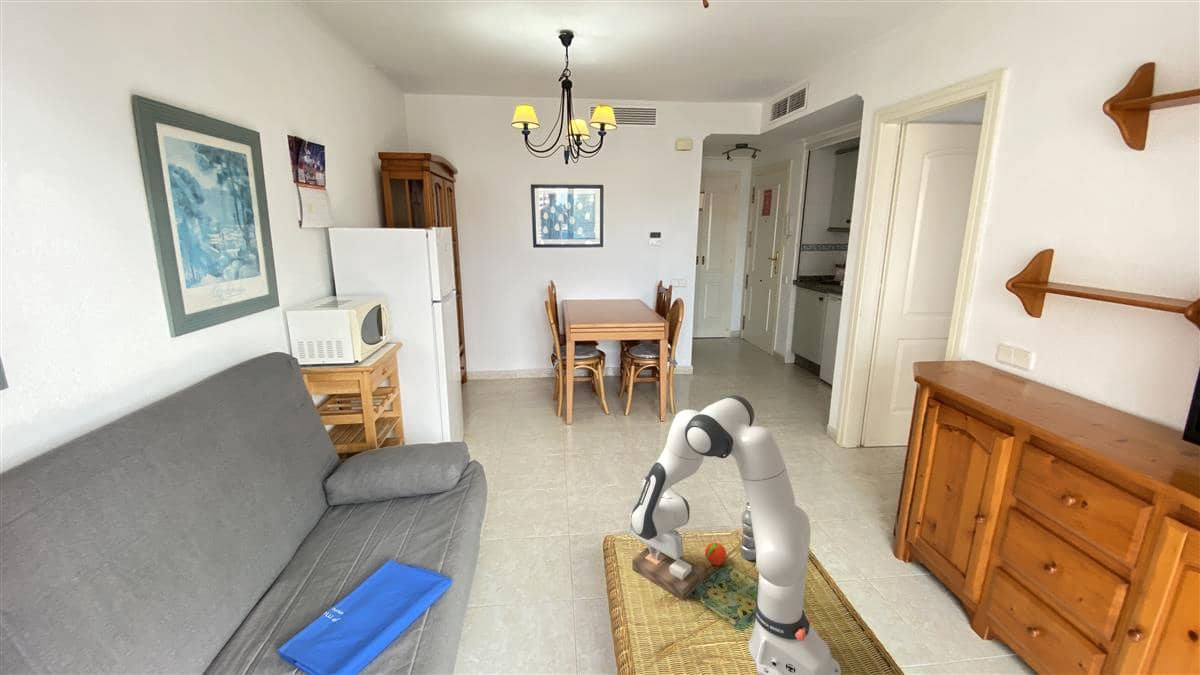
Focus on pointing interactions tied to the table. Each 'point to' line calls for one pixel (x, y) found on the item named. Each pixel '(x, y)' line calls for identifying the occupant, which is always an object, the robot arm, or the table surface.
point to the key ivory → (680, 569)
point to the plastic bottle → (747, 536)
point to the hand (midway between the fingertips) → (655, 557)
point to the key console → (668, 574)
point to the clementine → (715, 553)
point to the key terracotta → (655, 559)
